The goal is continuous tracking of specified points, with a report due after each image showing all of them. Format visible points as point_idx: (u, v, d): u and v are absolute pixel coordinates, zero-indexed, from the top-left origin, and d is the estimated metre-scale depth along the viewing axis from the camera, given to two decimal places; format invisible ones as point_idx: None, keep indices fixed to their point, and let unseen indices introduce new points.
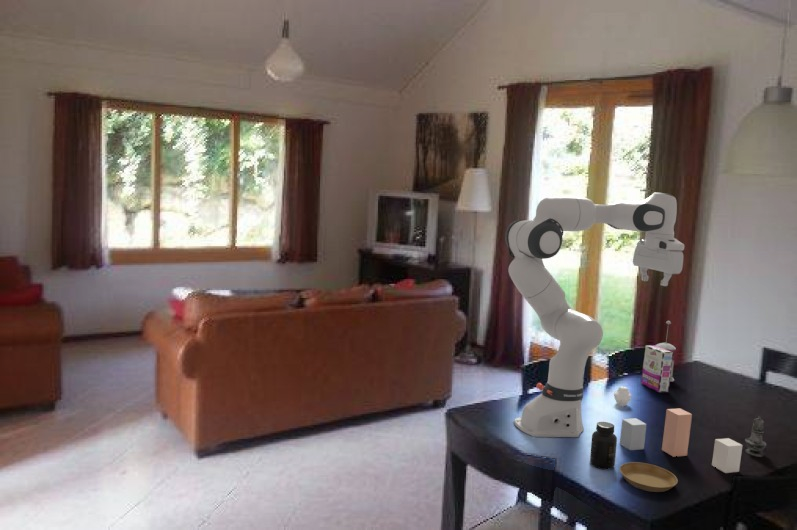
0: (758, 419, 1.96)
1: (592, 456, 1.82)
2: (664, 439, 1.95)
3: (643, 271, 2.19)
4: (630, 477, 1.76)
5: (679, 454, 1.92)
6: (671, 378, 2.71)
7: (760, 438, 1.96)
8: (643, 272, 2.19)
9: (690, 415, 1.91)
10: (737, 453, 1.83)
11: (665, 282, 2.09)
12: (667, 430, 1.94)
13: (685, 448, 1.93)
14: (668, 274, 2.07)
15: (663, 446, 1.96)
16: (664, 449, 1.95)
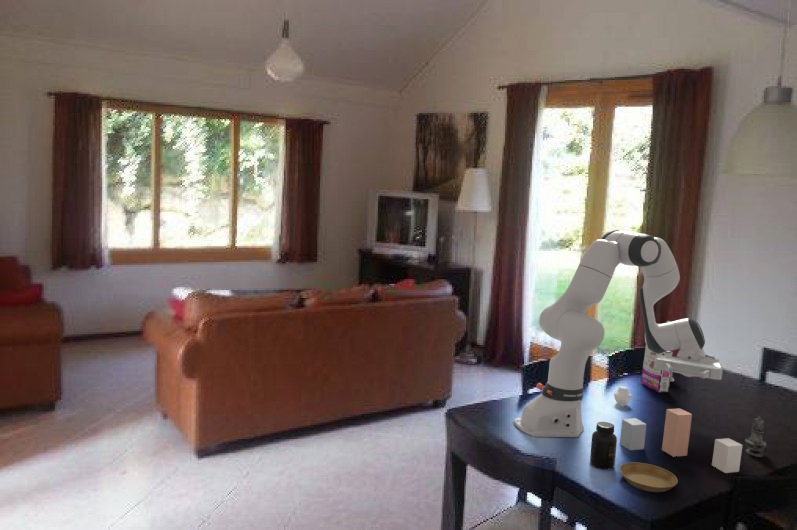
0: (758, 419, 1.96)
1: (592, 456, 1.82)
2: (664, 439, 1.95)
3: None
4: (630, 477, 1.76)
5: (679, 454, 1.92)
6: (671, 378, 2.71)
7: (760, 438, 1.96)
8: None
9: (690, 415, 1.91)
10: (737, 453, 1.83)
11: (705, 374, 2.01)
12: (667, 430, 1.94)
13: (685, 448, 1.93)
14: (709, 372, 2.03)
15: (663, 446, 1.96)
16: (664, 449, 1.95)
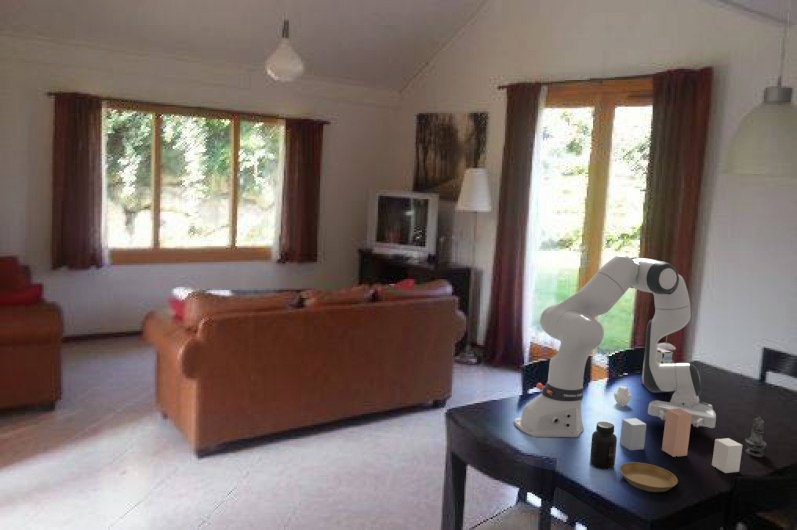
0: (758, 419, 1.96)
1: (592, 456, 1.82)
2: (664, 439, 1.95)
3: None
4: (630, 477, 1.76)
5: (679, 454, 1.92)
6: None
7: (760, 438, 1.96)
8: None
9: (690, 415, 1.91)
10: (737, 453, 1.83)
11: (698, 423, 2.01)
12: (667, 430, 1.94)
13: (685, 448, 1.93)
14: (703, 420, 2.03)
15: (663, 446, 1.96)
16: (664, 449, 1.95)
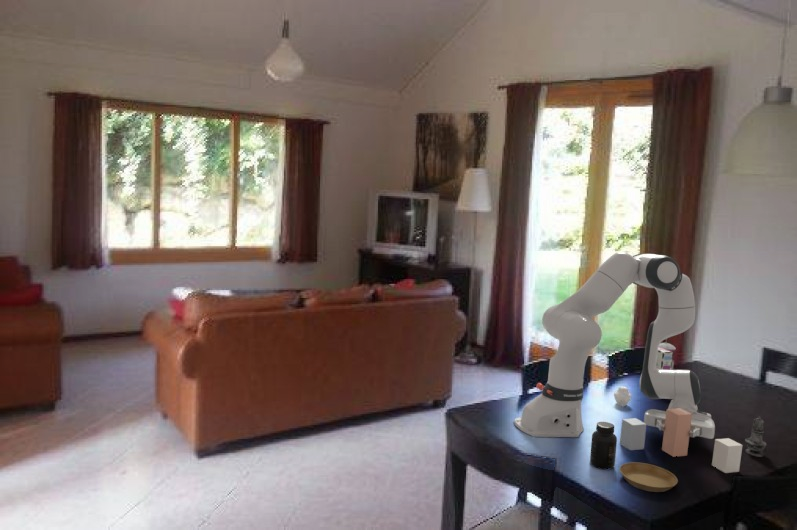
0: (758, 419, 1.96)
1: (592, 456, 1.82)
2: (664, 439, 1.95)
3: None
4: (630, 477, 1.76)
5: (679, 454, 1.92)
6: None
7: (760, 438, 1.96)
8: None
9: (690, 415, 1.91)
10: (737, 453, 1.83)
11: (694, 433, 1.92)
12: (667, 430, 1.94)
13: (685, 448, 1.93)
14: (699, 431, 1.94)
15: (663, 446, 1.96)
16: (665, 448, 1.95)
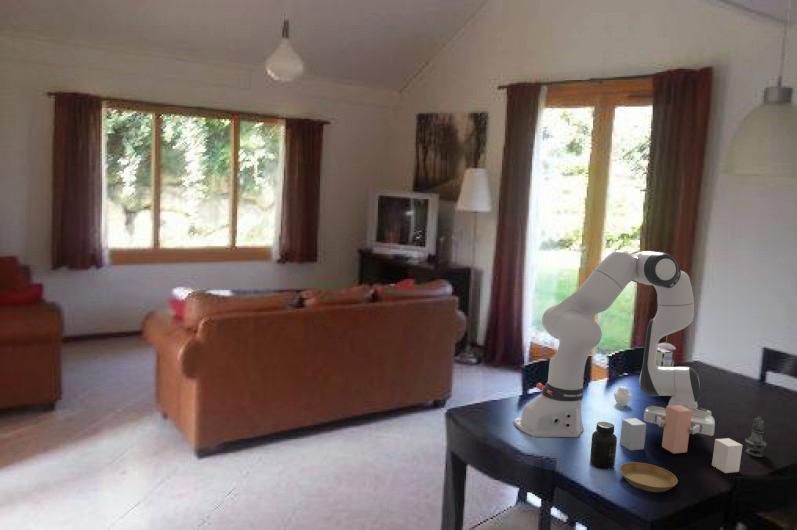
0: (758, 418, 1.96)
1: (592, 456, 1.82)
2: (664, 436, 1.95)
3: None
4: (630, 477, 1.76)
5: (679, 451, 1.92)
6: None
7: (760, 438, 1.96)
8: None
9: (690, 412, 1.91)
10: (737, 453, 1.83)
11: (694, 430, 1.92)
12: (667, 427, 1.94)
13: (685, 444, 1.93)
14: (699, 427, 1.94)
15: (663, 443, 1.96)
16: (664, 445, 1.95)
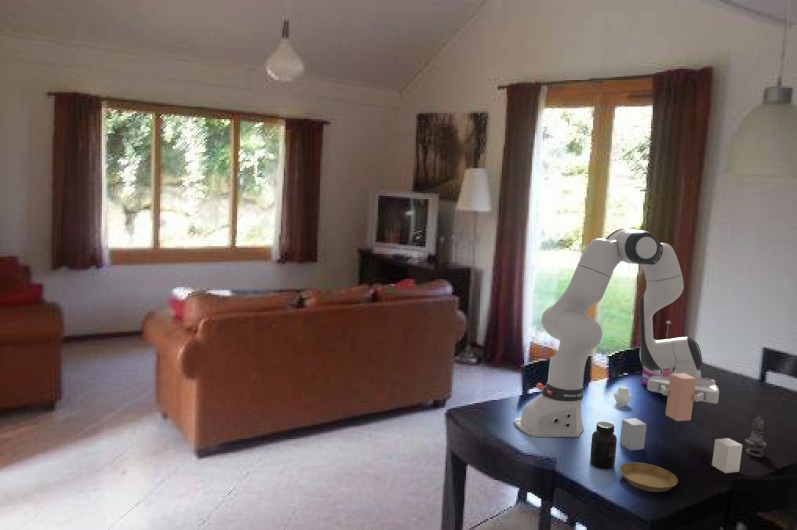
0: (758, 418, 1.96)
1: (592, 456, 1.82)
2: (668, 404, 1.94)
3: None
4: (630, 477, 1.76)
5: (683, 418, 1.91)
6: None
7: (760, 438, 1.96)
8: None
9: (694, 379, 1.90)
10: (737, 453, 1.83)
11: (699, 397, 1.90)
12: (671, 395, 1.93)
13: (689, 412, 1.91)
14: (703, 395, 1.92)
15: (667, 411, 1.94)
16: (668, 413, 1.94)
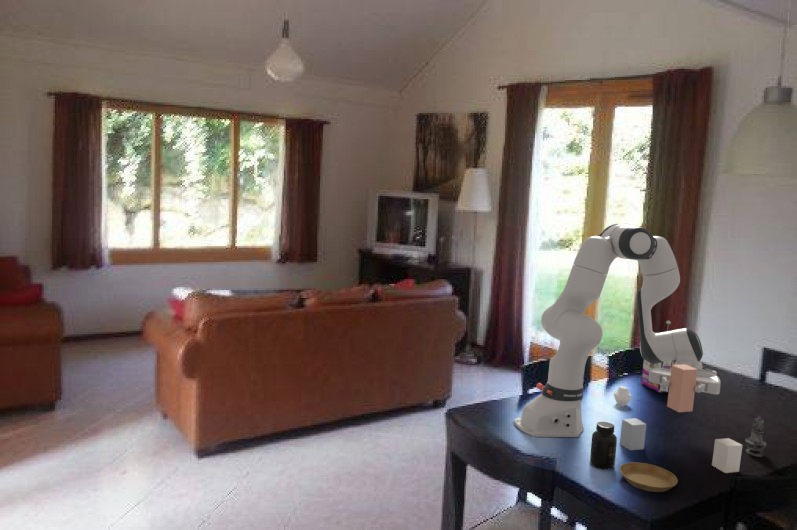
0: (758, 419, 1.96)
1: (592, 456, 1.82)
2: (669, 395, 1.94)
3: None
4: (630, 477, 1.76)
5: (684, 410, 1.91)
6: None
7: (760, 438, 1.96)
8: None
9: (695, 370, 1.90)
10: (737, 453, 1.83)
11: (700, 388, 1.90)
12: (672, 386, 1.92)
13: (691, 403, 1.91)
14: (705, 386, 1.92)
15: (668, 403, 1.94)
16: (670, 405, 1.93)
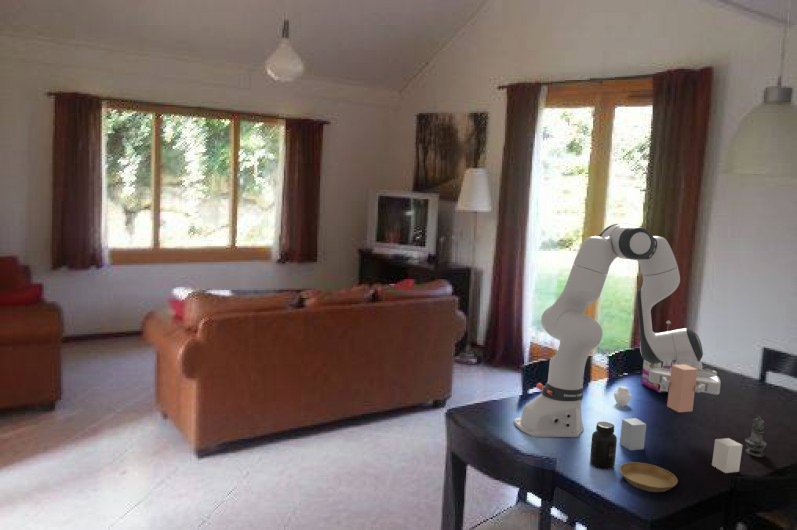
0: (758, 419, 1.96)
1: (592, 456, 1.82)
2: (669, 395, 1.94)
3: None
4: (630, 477, 1.76)
5: (684, 410, 1.91)
6: None
7: (760, 438, 1.96)
8: None
9: (695, 370, 1.90)
10: (737, 453, 1.83)
11: (700, 388, 1.90)
12: (672, 386, 1.92)
13: (691, 403, 1.91)
14: (705, 386, 1.92)
15: (668, 403, 1.94)
16: (670, 405, 1.93)
